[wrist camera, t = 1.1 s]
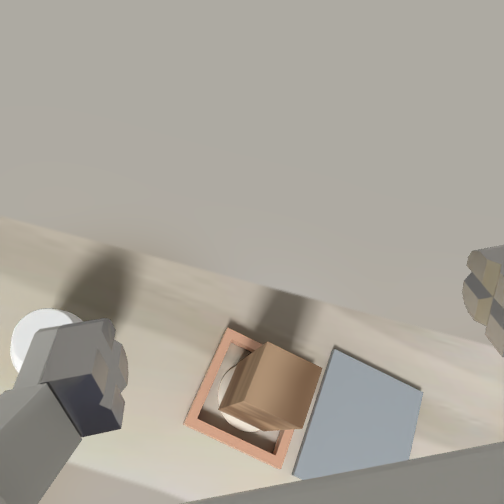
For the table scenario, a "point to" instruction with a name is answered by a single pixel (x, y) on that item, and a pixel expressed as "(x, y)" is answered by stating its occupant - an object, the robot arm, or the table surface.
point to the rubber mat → (357, 420)
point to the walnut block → (271, 389)
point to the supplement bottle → (35, 330)
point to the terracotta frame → (219, 435)
